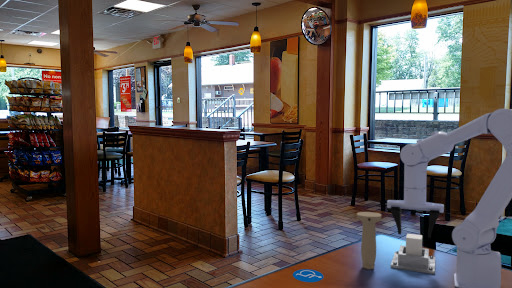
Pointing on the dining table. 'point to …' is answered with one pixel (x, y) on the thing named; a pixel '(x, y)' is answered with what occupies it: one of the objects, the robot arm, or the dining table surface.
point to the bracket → (414, 261)
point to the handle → (368, 238)
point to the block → (414, 244)
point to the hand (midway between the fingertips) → (414, 235)
